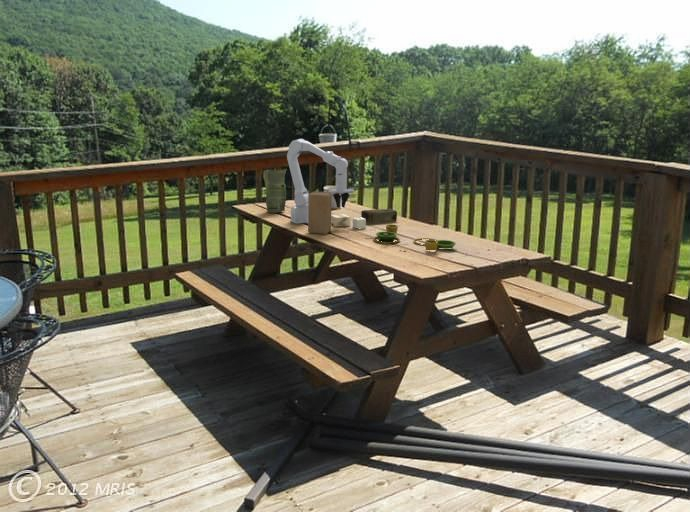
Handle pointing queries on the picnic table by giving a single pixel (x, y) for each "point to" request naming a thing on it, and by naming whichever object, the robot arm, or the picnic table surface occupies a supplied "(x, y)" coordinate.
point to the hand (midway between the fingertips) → (340, 207)
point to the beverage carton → (379, 216)
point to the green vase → (275, 190)
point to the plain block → (340, 220)
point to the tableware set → (429, 244)
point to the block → (319, 212)
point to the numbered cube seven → (359, 222)
